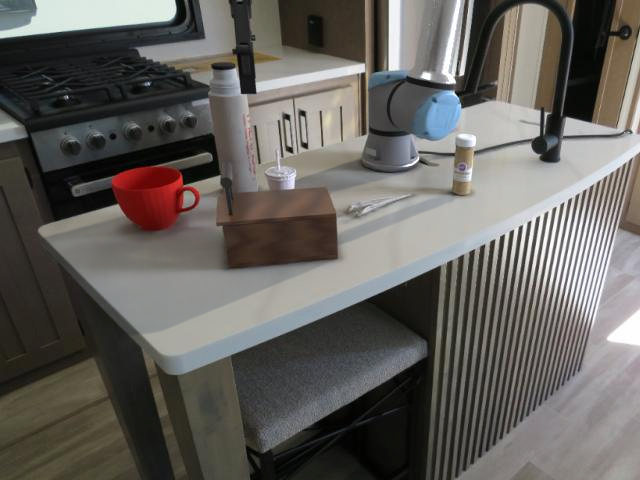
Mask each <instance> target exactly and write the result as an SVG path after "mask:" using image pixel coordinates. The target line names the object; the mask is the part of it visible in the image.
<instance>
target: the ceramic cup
mask: <svg viewBox="0 0 640 480" xmlns="http://www.w3.org/2000/svg"><path fill="white" fill-rule="evenodd" d="M110 185H111V189H112V191H113V194H114V198H115V200H116V202H117V205H118V206H119V209H120V211H121V212H122V213H123V214H124V216H125V217H126V218H127V219H128V220H129V221H130V222H132V223H133V224H134V225H136V226H137V227H139V228H140V229H141V230H143V231H147V232H156V231H162V230H166V229H169V228H170V227H173V225H174V224H175V222H176V221H177V219H178V218H179V216H180V214H183V213H186V212H190V211H192V210H194V209H195V208H196V207H197V206H198V205H199V202H200V200H201V194H200V192H199V191H198V189H197V188H196V187H193V186H189V185H188V186H184V181H183V175H182V173H181V171H180V170H178V169H176V168H172V167H169V166H143V167H137V168H136V167H135V168H132V169H129V170H125V171H123V172H122V171H121V172H120V173H117V174H116V175H115V176H113V178H112V179H111V181H110ZM185 192H191V193H192V194H193V195H194V202H193V204H191V205H190V206H187V207H184V202H185V201H184V199H185V197H184V196H185Z"/></svg>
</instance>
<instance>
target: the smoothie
mask: <svg viewBox="0 0 640 480" xmlns="http://www.w3.org/2000/svg"><path fill="white" fill-rule="evenodd" d="M275 160H276V165H275V166H271V167H268V168H267V169H265V170H264V178H265V179H266V180H267V185H268V188H269V191H271V190H286V189H295V184H296V182H295V180H296V179H295V178H296V177H297V171H296V170H297V169H295V168H294V167H292V166H287V165H281V163H280V155H279V149H277V148H275Z"/></svg>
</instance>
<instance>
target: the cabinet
mask: <svg viewBox="0 0 640 480" xmlns="http://www.w3.org/2000/svg"><path fill="white" fill-rule="evenodd" d="M221 227H222V234H223V241H224V247H225V253H226V259H227V265H228V269H238V268H239V269H243V268H251V267H262V266H272V265H283V264H293V263H295V264H296V263H305V262H317V261H326V260H336V259H339V247H338V243H339V242H338V241H339V240H338V219H337V217H331V218H318V219H305V220H293V221H280V222H267V223H254V224H241V225H229V226H221Z"/></svg>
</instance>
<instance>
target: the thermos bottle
mask: <svg viewBox="0 0 640 480" xmlns="http://www.w3.org/2000/svg"><path fill="white" fill-rule="evenodd" d="M210 67H211V69H212V77H213V78H211V79H210V80H209V85H208V86H209V88H210V90H209V91H208V92H207V95H208V103H209V109H210V115H211V122H212V129H213V134H214V135H213V136H214V141H215V148H216V153H217V159H218V168H219V174H220V175H219V176H221V164H222V163H223V162H230V163H231V164H232V166H233V179H232V192H233V193H241V192H256V191H259V185H258V175H257V167H256V160H255V159H256V158H255V151H254V142H253V134H252V126H251V117H250V108H249V100H248V94H241V90H240V81H239V76H238V72H237V69H236V63H235V62H232V61H231V62H230V61H219V62H218V61H217V62H213V63H211V64H210ZM221 188H222V194H226V191H225V188H223V187H222V186H221Z"/></svg>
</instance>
